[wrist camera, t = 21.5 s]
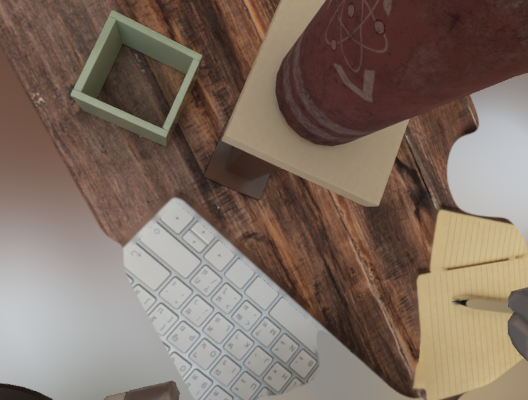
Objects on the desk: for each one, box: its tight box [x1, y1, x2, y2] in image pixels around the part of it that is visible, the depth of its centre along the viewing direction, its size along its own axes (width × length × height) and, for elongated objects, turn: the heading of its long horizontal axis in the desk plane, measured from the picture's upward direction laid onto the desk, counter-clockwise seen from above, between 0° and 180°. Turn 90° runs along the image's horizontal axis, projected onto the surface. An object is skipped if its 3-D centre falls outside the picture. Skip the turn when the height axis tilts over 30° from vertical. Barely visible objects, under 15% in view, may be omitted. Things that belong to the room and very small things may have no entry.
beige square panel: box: [222, 0, 409, 206], centre depth 22 cm, size 10×10×2 cm
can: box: [275, 0, 528, 146], centre depth 14 cm, size 6×6×14 cm
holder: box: [71, 10, 202, 147], centre depth 43 cm, size 11×11×6 cm
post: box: [203, 120, 281, 200], centre depth 36 cm, size 8×8×27 cm
